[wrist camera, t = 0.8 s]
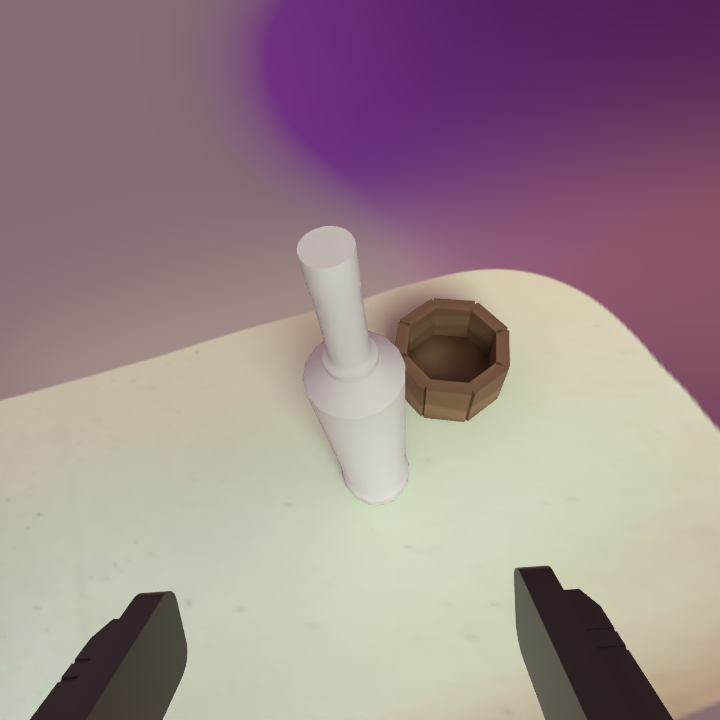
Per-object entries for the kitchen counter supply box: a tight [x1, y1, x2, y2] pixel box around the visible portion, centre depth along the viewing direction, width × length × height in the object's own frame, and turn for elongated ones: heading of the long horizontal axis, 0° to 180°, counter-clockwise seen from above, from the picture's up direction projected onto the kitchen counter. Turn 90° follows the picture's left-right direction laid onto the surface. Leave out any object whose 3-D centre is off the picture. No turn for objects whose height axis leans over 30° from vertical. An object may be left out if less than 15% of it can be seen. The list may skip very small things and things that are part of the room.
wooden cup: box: [395, 298, 510, 422], centre depth 39 cm, size 9×9×5 cm
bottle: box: [297, 226, 409, 505], centre depth 26 cm, size 5×5×25 cm
